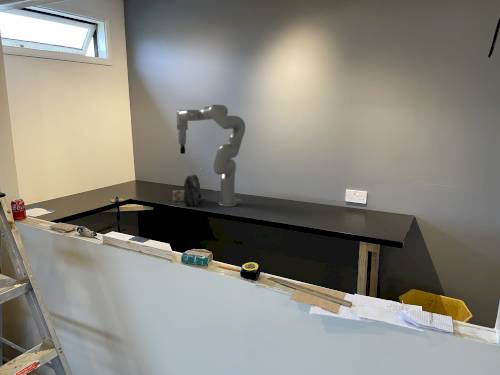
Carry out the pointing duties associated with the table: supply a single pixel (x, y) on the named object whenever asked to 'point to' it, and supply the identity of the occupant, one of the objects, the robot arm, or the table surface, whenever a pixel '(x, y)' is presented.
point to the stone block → (192, 191)
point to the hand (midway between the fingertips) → (182, 153)
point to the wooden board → (179, 196)
